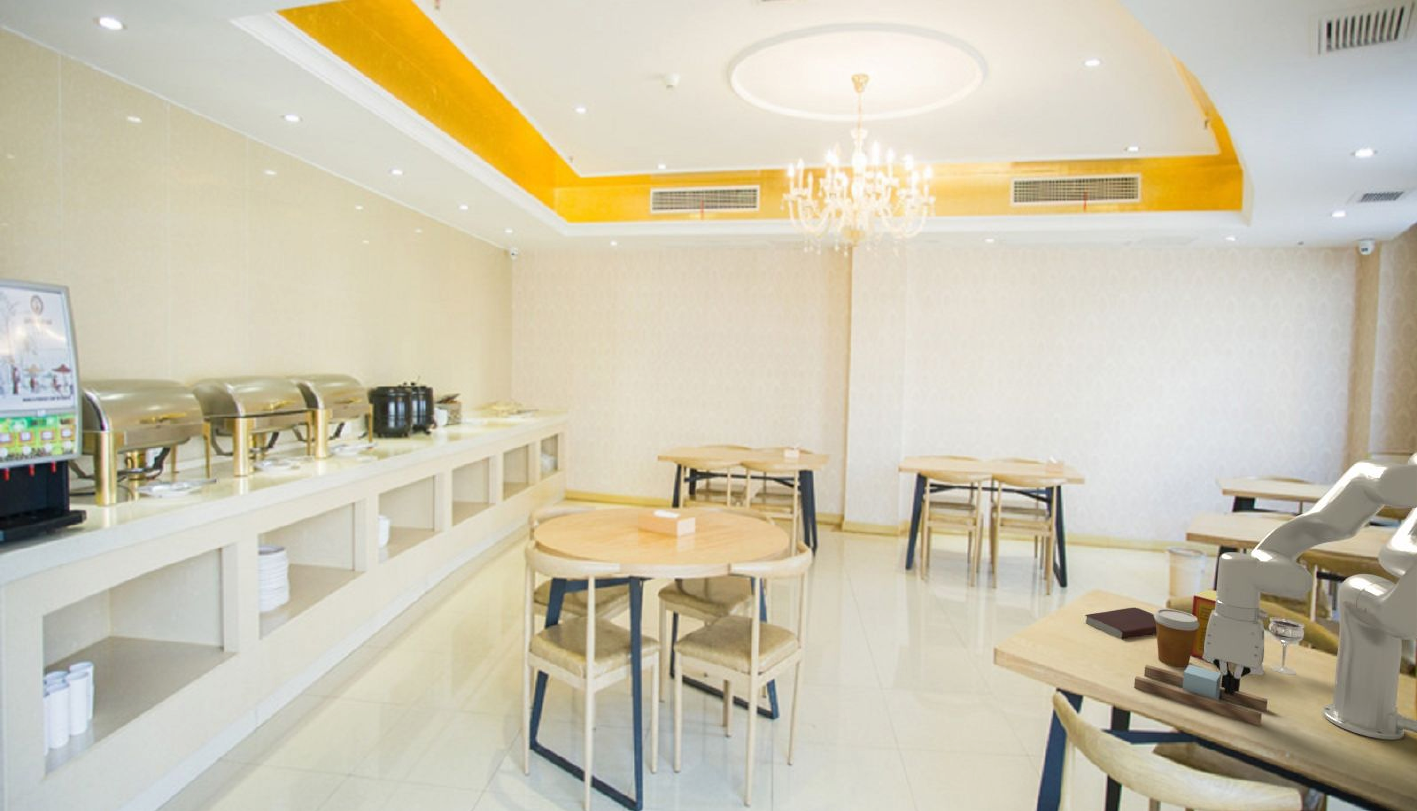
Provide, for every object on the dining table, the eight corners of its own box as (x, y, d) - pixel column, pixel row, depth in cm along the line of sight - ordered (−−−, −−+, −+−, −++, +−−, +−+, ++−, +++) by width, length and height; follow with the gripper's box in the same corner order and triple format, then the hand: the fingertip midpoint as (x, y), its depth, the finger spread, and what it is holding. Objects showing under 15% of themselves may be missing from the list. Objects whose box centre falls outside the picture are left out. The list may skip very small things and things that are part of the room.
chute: (1266, 708, 154) (1267, 699, 154) (1259, 726, 146) (1260, 716, 146) (1146, 673, 170) (1146, 664, 170) (1134, 687, 162) (1134, 678, 162)
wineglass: (1302, 678, 169) (1307, 630, 168) (1267, 671, 172) (1271, 623, 171) (1298, 668, 174) (1302, 621, 174) (1263, 661, 178) (1267, 615, 177)
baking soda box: (1204, 646, 186) (1209, 587, 185) (1233, 655, 181) (1238, 595, 180) (1189, 654, 181) (1193, 594, 180) (1218, 664, 176) (1223, 601, 175)
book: (1174, 633, 196) (1174, 622, 196) (1122, 641, 190) (1123, 629, 190) (1133, 617, 208) (1134, 606, 208) (1083, 624, 202) (1084, 613, 202)
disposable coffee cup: (1203, 672, 171) (1207, 624, 170) (1160, 667, 173) (1163, 620, 172) (1185, 655, 181) (1189, 610, 180) (1144, 651, 182) (1147, 606, 181)
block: (1219, 699, 158) (1221, 673, 157) (1214, 707, 154) (1216, 681, 153) (1187, 689, 162) (1189, 664, 161) (1181, 697, 158) (1183, 671, 158)
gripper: (1282, 616, 150) (1275, 699, 151) (1198, 597, 160) (1192, 675, 162) (1278, 625, 145) (1270, 711, 146) (1191, 605, 155) (1185, 686, 157)
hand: (1229, 692), depth 154 cm, fingers closed
